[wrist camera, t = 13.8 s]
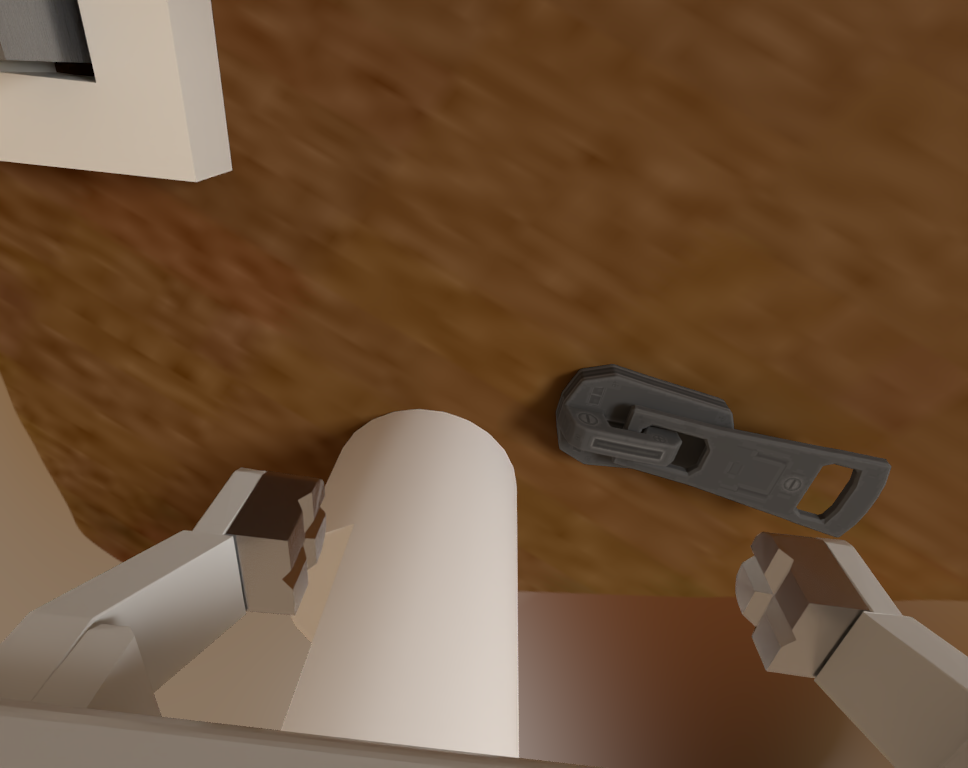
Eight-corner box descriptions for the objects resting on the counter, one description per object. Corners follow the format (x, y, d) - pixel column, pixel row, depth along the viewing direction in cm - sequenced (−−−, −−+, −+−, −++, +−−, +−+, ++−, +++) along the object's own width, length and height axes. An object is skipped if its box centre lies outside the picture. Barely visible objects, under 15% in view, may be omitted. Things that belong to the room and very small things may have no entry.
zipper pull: (844, 546, 44) (549, 490, 43) (806, 493, 50) (545, 442, 49) (907, 462, 40) (582, 396, 39) (858, 414, 46) (573, 355, 44)
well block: (-91, -163, 30) (-192, -203, 26) (193, -131, 30) (140, -166, 26) (6, 145, 38) (-59, 154, 34) (232, 170, 38) (196, 182, 34)
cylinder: (487, 390, 46) (459, 736, 22) (535, 534, 54) (553, 904, 30) (306, 431, 49) (105, 775, 25) (376, 562, 57) (276, 919, 33)
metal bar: (50, -17, 33) (-113, -50, 25) (115, -11, 33) (-26, -42, 25) (69, 58, 35) (-75, 52, 27) (130, 64, 35) (5, 60, 27)
